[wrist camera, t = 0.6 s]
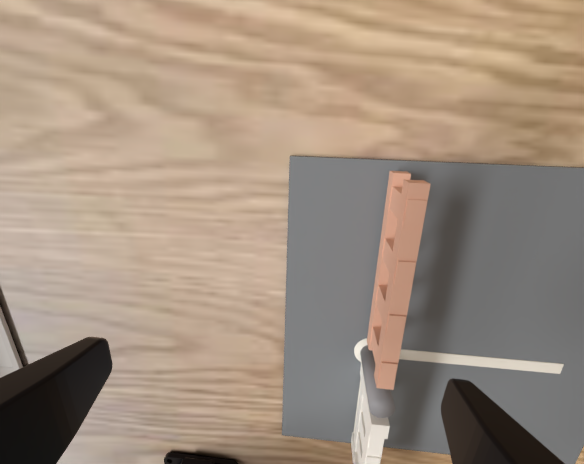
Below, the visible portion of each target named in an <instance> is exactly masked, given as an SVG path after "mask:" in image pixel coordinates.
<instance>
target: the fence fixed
mask: <svg viewBox="0 0 584 464" xmlns="http://www.w3.org/2000/svg"><path fill="white" fill-rule="evenodd" d="M360 378H361V388H360V395H359V403H358V410H357V417H356V425H355V432H354V433H353V432H352V437H351V448H352V459H353V464H380V462H381V456H382V451H383V445H384V439H388V433H389V428H390V425H389V420H388V417H387V418H378V417H375V416H374V415H372V414H371V412H370V410H369V404H368V398H367V392H366V386H365V380H364V373H363V367H362V362H361V368H360Z"/></svg>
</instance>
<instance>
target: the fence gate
mask: <svg viewBox="0 0 584 464" xmlns="http://www.w3.org/2000/svg"><path fill="white" fill-rule="evenodd" d="M410 178H411V173H409V172H407V171H390V172H389V180H388V187H387V195H386V202H385V209H384V217H383V224H382V232H381V239H380V247H379V254H378V261H377V269H376V276H375V284H374V291H373V299H372V306H371V313H370V321H369V328H368V336H367V344H368V345H366V346H364V347H363V348H362V349H361V351H360V355H361V361H362V367H363V373H364V380H365V386H366V392H367V398H368V404H369V410H370V412H371V414H372V415H374V416H375V417H378V418H387V417H390V416H391V415H393V414H394V412H395V405H394V401H393V397H392V393H391V390H394V384H395V379H396V373H397V368H398V362H399V357H400V351H401V345H402V340H403V334H404V329H405V323H406V318H407V312H408V307H409V301H410V296H411V290H412V285H413V279H414V274H415V268H416V262H417V257H418V251H419V246H420V240H421V235H422V229H423V224H424V218H425V213H426V207H427V202H428V196H429V191H430V185H431V184H430V183H428V182H426V181H424V180H410Z"/></svg>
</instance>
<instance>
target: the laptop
mask: <svg viewBox="0 0 584 464" xmlns="http://www.w3.org/2000/svg"><path fill="white" fill-rule="evenodd" d="M22 367H23V366H22V363H21V360H20V357H19V355H18V352H17V349H16V347H15V344H14V341H13V339H12V336H11V333H10V331H9V328H8V325H7V323H6V320H5V317H4V315H3V312H2V309H1V307H0V378H1V377H3V376H5V375H7V374H9V373H12V372H14V371H16V370H18V369H20V368H22Z"/></svg>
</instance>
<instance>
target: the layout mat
mask: <svg viewBox="0 0 584 464" xmlns="http://www.w3.org/2000/svg"><path fill="white" fill-rule="evenodd" d="M390 171H407V172H409V173H411V178H410V180H424V181H426V182H428V183H430V184H431V185H430V191H429V196H428V202H427V207H426V213H425V218H424V224H423V229H422V235H421V240H420V246H419V251H418V257H417V262H416V268H415V274H414V279H413V285H412V290H411V296H410V301H409V307H408V312H407V318H406V323H405V329H404V334H403V340H402V345H401V351H400V357H399V362H398V368H397V373H396V379H395V384H394V390H391V393H392V397H393V401H394V405H395V412H394V414H393V415H391V416H390V417H388V420H389V425H390V428H389V433H388V439H384V445H383V447H389V448H398V449H406V450H415V451H424V452H433V453H441V454H450V450H449V446H448V442H447V438H446V433H445V429H444V425H443V421H442V416H441V403H442V399H443V396H444V392H445V389H446V386H447V383H448V381H449V380H450V379H452V378H455V379H463V380H468V381H471V382H472V383H473V384H474V385H476V386H477V387H478V388H479V389H480V390H481V391H482V392H484V393H485V394H486V395H487V396H488V397H489V398H490V399H492V400H493V401H494V402H495V403H496V404H497V405H498V406H500V407H501V408H502V409H503V410H504V411H505V412H506V413H508V414H509V415H510V416H511V417H512V418H513V419H514V420H516V421H517V422H518V423H519V424H520V425H521V426H523V427H524V428H525V429H526V430H527V431H528V432H529V433H531V434H532V435H533V436H534V437H535V438H536V439H537V440H539V441H540V442H541V443H542V444H543V445H544V446H545V447H547V448H548V449H549V450H550V451H551V452H552V453H553V454H555V455H556V456H557V457H558V458H559V459H560V460H561V461H563V462H564V463H565V464H575V463H576V461H577V459H578V456H579V454H580V452H581V450H582V448H583V446H584V168H580V167H555V166H530V165H506V164H481V163H456V162H432V161H407V160H382V159H358V158H333V157H308V156H290V168H289V204H288V240H287V275H286V311H285V347H284V382H283V418H282V435H285V436H293V437H302V438H311V439H320V440H328V441H337V442H346V443H351V437H352V432H353V433H354V432H355V425H356V417H357V410H358V403H359V395H360V388H361V378H360V368H361V362H362V361H361V355H360V351H361V349H362V348H363V347H364V346H366V345H368V344H367V336H368V328H369V321H370V313H371V306H372V299H373V291H374V284H375V276H376V269H377V261H378V254H379V247H380V239H381V232H382V224H383V217H384V209H385V202H386V195H387V187H388V180H389V172H390Z"/></svg>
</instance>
